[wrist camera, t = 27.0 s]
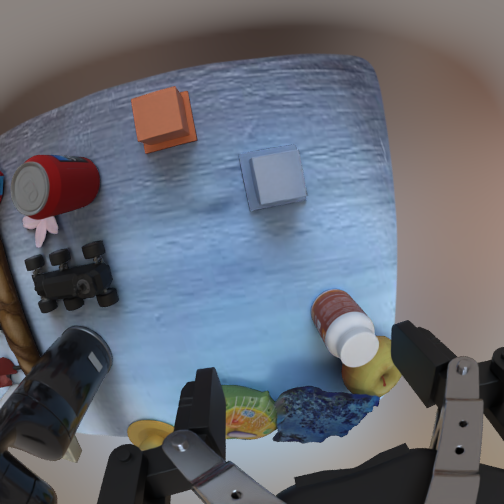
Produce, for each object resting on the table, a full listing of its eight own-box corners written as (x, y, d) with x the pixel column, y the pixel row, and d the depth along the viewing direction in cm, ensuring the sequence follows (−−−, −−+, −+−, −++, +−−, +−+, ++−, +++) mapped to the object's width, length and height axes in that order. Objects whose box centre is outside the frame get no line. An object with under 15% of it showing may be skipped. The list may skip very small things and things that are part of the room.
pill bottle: (301, 308, 40) (322, 352, 29) (335, 278, 39) (368, 314, 29) (326, 335, 42) (351, 381, 31) (359, 307, 41) (393, 347, 30)
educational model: (187, 369, 41) (183, 395, 36) (293, 377, 43) (300, 401, 38) (187, 421, 45) (184, 445, 40) (278, 427, 47) (282, 450, 42)
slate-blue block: (257, 200, 36) (260, 205, 31) (248, 160, 34) (251, 157, 29) (297, 193, 36) (307, 196, 31) (290, 152, 34) (299, 149, 29)
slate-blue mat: (249, 210, 36) (250, 211, 36) (238, 154, 35) (238, 154, 34) (305, 199, 36) (306, 200, 36) (295, 144, 35) (296, 143, 34)
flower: (20, 195, 35) (13, 195, 33) (58, 168, 33) (51, 167, 32) (33, 256, 36) (26, 258, 35) (74, 236, 34) (66, 238, 33)
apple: (320, 375, 41) (348, 407, 34) (355, 319, 40) (389, 345, 33) (361, 384, 45) (388, 411, 37) (392, 335, 44) (424, 358, 36)
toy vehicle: (125, 295, 38) (101, 325, 30) (46, 306, 38) (16, 331, 30) (109, 237, 36) (78, 255, 28) (30, 256, 36) (-5, 274, 27)
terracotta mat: (146, 153, 34) (145, 153, 33) (138, 106, 32) (136, 105, 32) (197, 140, 34) (196, 140, 33) (187, 91, 32) (187, 90, 32)
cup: (120, 438, 46) (113, 458, 40) (141, 408, 44) (134, 430, 38) (173, 462, 48) (170, 482, 43) (201, 436, 46) (199, 459, 41)
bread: (73, 411, 43) (64, 427, 39) (54, 408, 43) (44, 423, 38) (4, 212, 34) (-16, 217, 29) (-13, 217, 33) (-32, 223, 29)
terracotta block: (150, 145, 33) (137, 141, 28) (143, 108, 32) (130, 99, 27) (190, 135, 33) (183, 129, 28) (182, 97, 32) (175, 85, 27)
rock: (277, 392, 34) (278, 380, 36) (267, 446, 42) (269, 436, 44) (387, 395, 33) (385, 384, 35) (352, 448, 41) (351, 439, 43)
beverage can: (87, 146, 33) (35, 140, 21) (111, 187, 35) (63, 195, 23) (54, 177, 33) (-2, 183, 22) (76, 217, 35) (24, 236, 23)
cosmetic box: (44, 407, 43) (60, 442, 47) (35, 421, 39) (53, 455, 42) (68, 415, 44) (82, 450, 47) (60, 430, 40) (77, 463, 43)
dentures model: (-11, 353, 36) (-16, 374, 37) (-3, 373, 35) (-9, 391, 36) (11, 352, 42) (4, 372, 42) (19, 370, 40) (11, 389, 41)
